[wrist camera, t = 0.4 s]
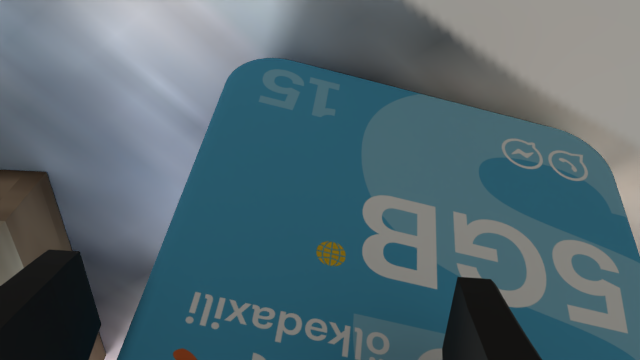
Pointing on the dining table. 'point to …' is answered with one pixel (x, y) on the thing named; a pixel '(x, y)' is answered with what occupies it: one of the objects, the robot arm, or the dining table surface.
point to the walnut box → (35, 221)
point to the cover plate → (8, 255)
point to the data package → (382, 229)
